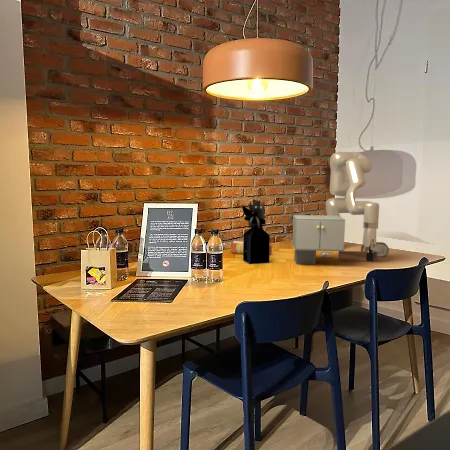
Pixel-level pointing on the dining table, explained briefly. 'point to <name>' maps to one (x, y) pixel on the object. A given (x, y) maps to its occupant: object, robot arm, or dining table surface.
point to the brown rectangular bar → (355, 256)
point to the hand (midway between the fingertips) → (368, 259)
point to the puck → (325, 255)
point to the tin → (379, 249)
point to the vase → (255, 235)
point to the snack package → (241, 247)
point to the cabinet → (316, 236)
